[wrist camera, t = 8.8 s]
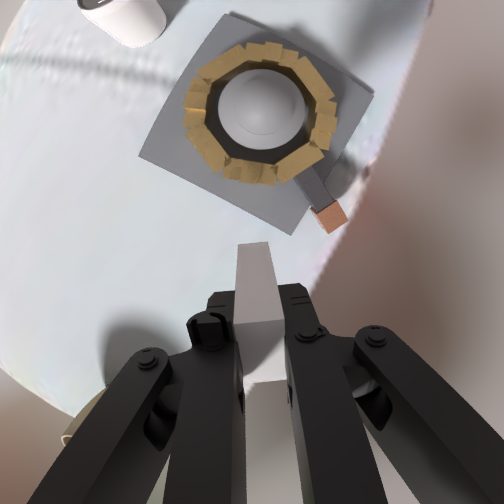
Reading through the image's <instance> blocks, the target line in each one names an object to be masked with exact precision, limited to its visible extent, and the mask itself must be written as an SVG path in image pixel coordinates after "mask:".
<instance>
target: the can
mask: <svg viewBox="0 0 504 504" xmlns="http://www.w3.org/2000/svg"><path fill="white" fill-rule="evenodd" d="M77 3H78V6H79V7H80V8H81V11H82V14H83V15H84V16H85V17H86V18H87V19H89V20H90V21H92V22H93V23H94V24H96V25H97V26H99V27H100V28H101V29H103V30H104V31H105V32H107V33H108V34H109V35H111V36H112V37H114V38H115V39H116V40H118V41H119V42H120V43H122V44H123V45H125V46H127V47H131V48H137V47H142V46H145V45H147V44H149V43H151V42H153V41H154V40H155V39H157V38H158V37H159V36H160V35H161V33H162V32H163V30H164V29H165V26H166V22H167V19H166V15H165V13H164V12H163V10H162V8H161V7H160V5H159V4H158V2H157V0H77Z"/></svg>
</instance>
